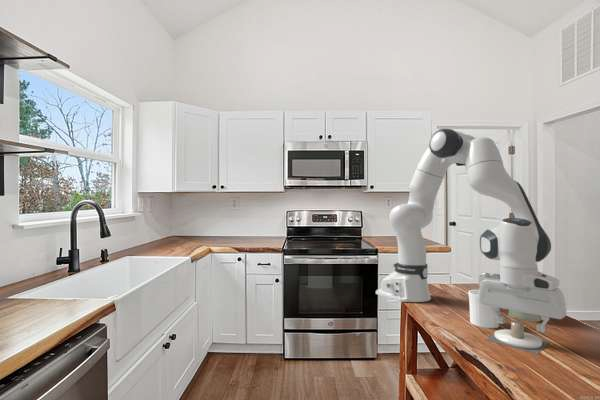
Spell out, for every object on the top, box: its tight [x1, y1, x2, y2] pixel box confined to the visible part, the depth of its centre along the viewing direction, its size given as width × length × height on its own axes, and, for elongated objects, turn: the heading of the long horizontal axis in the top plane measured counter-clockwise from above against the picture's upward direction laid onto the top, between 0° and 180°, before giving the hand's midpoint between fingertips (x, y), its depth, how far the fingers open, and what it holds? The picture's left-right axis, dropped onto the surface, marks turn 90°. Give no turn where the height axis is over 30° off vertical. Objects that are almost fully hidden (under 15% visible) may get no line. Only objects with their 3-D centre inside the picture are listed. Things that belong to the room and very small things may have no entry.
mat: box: [485, 328, 550, 355], centre depth 91 cm, size 12×12×1 cm
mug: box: [467, 289, 500, 329], centre depth 106 cm, size 11×9×10 cm
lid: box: [494, 319, 542, 349], centre depth 91 cm, size 11×11×5 cm
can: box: [507, 310, 542, 323], centre depth 112 cm, size 9×9×12 cm
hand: (519, 327), depth 91 cm, fingers open, 8 cm apart
